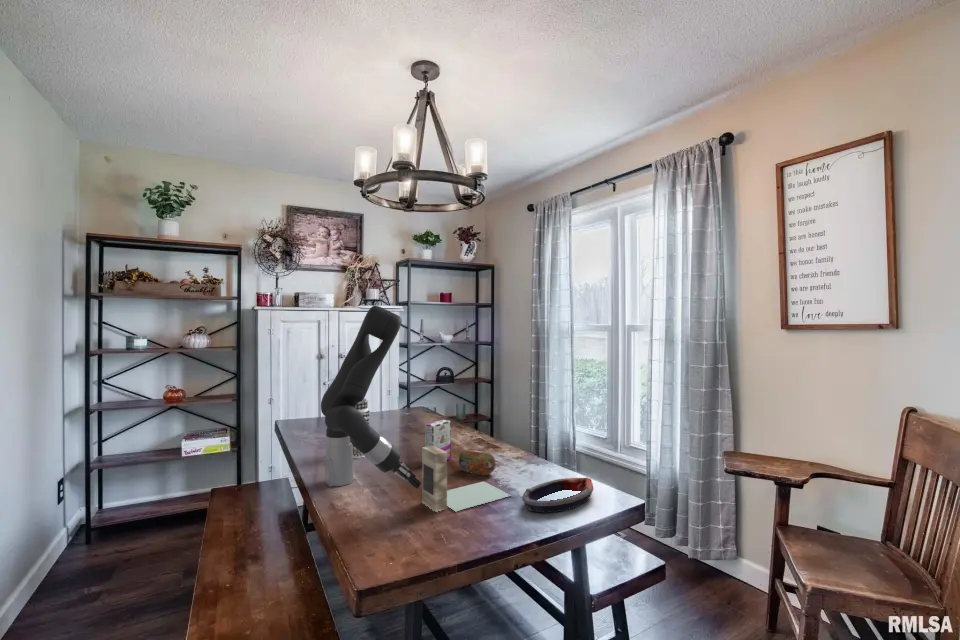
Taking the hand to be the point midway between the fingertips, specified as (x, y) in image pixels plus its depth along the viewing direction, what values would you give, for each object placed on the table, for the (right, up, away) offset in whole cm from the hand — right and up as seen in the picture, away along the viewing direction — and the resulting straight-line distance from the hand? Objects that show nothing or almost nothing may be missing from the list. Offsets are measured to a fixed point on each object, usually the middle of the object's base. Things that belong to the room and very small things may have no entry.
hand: (418, 485), depth 143 cm
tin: (+18, -8, +35) cm, 40 cm away
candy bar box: (+2, -8, +48) cm, 48 cm away
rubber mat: (+16, -8, +11) cm, 21 cm away
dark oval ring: (+46, -8, +8) cm, 47 cm away
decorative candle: (-33, -7, +56) cm, 66 cm away
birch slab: (+5, -8, +3) cm, 10 cm away
